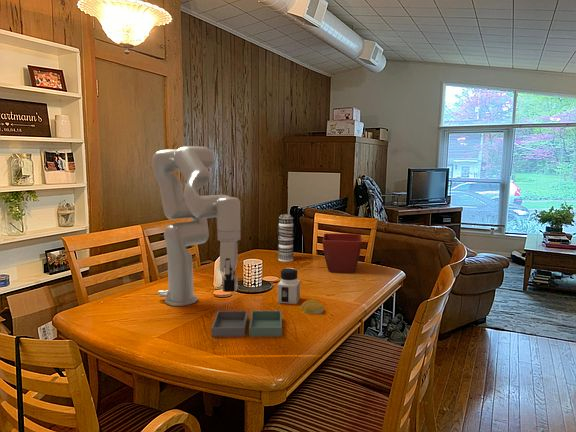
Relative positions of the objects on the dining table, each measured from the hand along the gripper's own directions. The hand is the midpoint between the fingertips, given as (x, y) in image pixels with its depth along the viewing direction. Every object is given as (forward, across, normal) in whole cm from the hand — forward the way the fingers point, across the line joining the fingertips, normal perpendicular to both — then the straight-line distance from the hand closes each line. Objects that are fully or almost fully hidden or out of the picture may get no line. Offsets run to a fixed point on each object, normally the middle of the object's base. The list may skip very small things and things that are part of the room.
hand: (230, 288), depth 145 cm
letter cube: (0, 0, 0) cm, 0 cm away
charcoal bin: (+14, 0, 0) cm, 14 cm away
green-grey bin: (+14, 0, +12) cm, 19 cm away
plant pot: (+14, -74, +48) cm, 90 cm away
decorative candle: (+14, -94, +20) cm, 97 cm away
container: (+14, -28, +20) cm, 38 cm away
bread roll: (+15, -16, +29) cm, 36 cm away
